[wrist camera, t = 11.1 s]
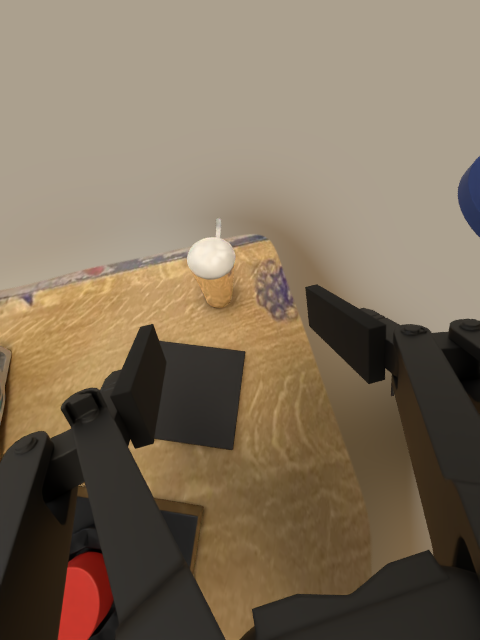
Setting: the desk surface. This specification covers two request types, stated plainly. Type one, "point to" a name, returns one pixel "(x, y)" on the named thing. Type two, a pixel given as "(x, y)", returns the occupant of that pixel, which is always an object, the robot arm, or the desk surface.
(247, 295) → the desk surface
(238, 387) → the mouse pad
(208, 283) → the milkshake
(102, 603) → the button
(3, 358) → the handheld gaming console
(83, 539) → the button box
